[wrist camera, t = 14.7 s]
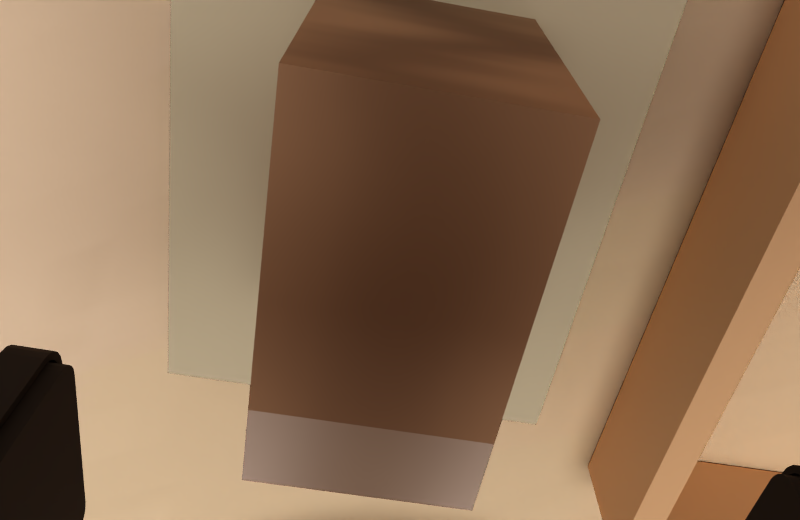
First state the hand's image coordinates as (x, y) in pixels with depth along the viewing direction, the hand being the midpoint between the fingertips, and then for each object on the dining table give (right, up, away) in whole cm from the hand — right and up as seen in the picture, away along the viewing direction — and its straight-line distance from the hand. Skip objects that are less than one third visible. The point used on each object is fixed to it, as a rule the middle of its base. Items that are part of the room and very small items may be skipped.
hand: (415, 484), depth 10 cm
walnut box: (0, +5, +10) cm, 11 cm away
